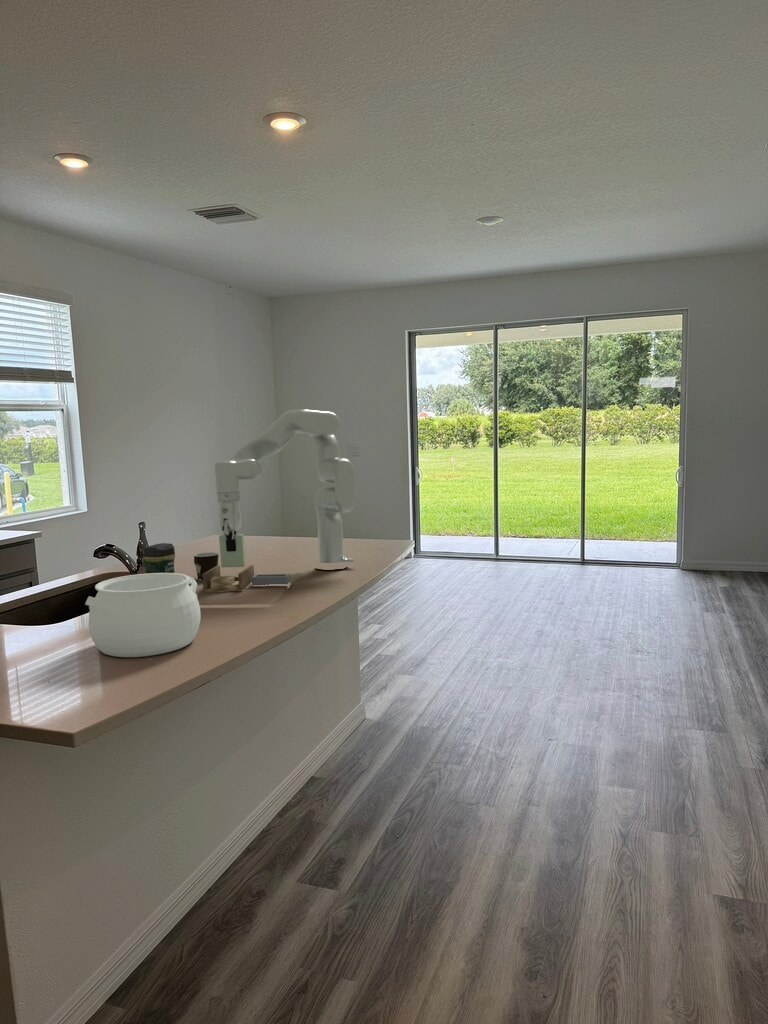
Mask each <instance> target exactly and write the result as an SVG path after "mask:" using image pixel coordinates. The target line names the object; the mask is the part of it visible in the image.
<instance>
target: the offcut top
mask: <svg viewBox="0 0 768 1024" xmlns="http://www.w3.org/2000/svg"><path fill="white" fill-rule="evenodd" d="M235 577H236V576H235V575H230V576H229V575H227V576H226V575H224V576H223V575H222V576H221V575H220V576H219V577H213V578H212V579H211V585H232V584H233V583H234V582H235Z"/></svg>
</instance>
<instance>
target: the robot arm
mask: <svg viewBox="0 0 768 1024" xmlns="http://www.w3.org/2000/svg"><path fill="white" fill-rule="evenodd" d="M340 425H341V421H340V418H339V417H338V415H337V414H335V413H334V412H331V411H324V410H323V411H322V410H313V409H290V410H286V411H285V412H283V413H282V414H281V415H280V416H279V417H278V418H277V419H276V420H275V421H274V422H272V424H271V425H270V426H269V427H268V428H267V429H266V431H265V432H263V433H262V434H261V435H260V436H258V437H257V436H256V437H255V439H253V440H252V441H250V442H248V443H247V444H245V445H244V446H242V447H241V448H240V449H239V450H237V452H235V454H234V455H232V457H231V458H229V460H219V461H217V462H215V464H214V472H215V473H214V476H215V485H216V487H215V488H216V500H217V503H219V522H220V523H219V525H220V530H221V531H222V532H223V535H225V539H226V550H227V552H230V551H236V542H235V540H234V534H238V530H239V529H241V528H242V527H243V519H242V511H241V505H240V501H241V497H240V496H241V495H240V494H241V493H240V481H254V480H257V479H258V478H259V477H260V476H261V475H262V472H263V466H262V465H261V463H260V462H259V461H261V460H263V459H265V458H267V457H270V456H273V455H276V454H277V453H279V452H281V451H282V449H284V448H285V447H286V446H287V445H288V443H289V442H290V441H291V440H292V439H293V438H294V437H295V436H296V435H298V434H307V435H308V436H309V437H310V438H311V439H312V441H313V442H314V444H315V449H316V450H315V451H316V474H317V478H318V480H319V481H320V482H323V483H326V484H334V486H323V487H320V488H319V489H317V490H316V492H315V494H314V497H313V502H314V507H315V511H316V517H317V518H316V519H317V540H318V541H317V542H318V543H317V544H318V563H319V562H320V563H338V562H355V563H356V560H355V559H356V558H353V557H352V558H351V557H348V558H347V557H346V555H345V554H344V535H343V533H344V531H343V528H344V527H343V526H344V525H343V520H342V515H341V513H342V514H343V513H344V514H345V513H349V512H352V510H354V508H355V506H356V501H357V488H356V487H357V485H356V484H357V479H356V476H357V475H356V470H355V467H354V464H353V463H352V462H351V461H350V460H349V459H348V458H345V457H344V458H343V457H340V450H339V442H338V440H337V437H336V436H335V434H337V432H338V431H339V429H340V427H341V426H340Z"/></svg>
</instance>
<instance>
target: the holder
mask: <svg viewBox="0 0 768 1024" xmlns="http://www.w3.org/2000/svg"><path fill="white" fill-rule="evenodd" d="M290 581H291V573H257V574H256V573H255V574H254V576H253V577H252V585H266V584H267V585H269V584H288V583H289V582H290ZM252 585H251V586H252Z"/></svg>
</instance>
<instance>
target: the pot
mask: <svg viewBox="0 0 768 1024" xmlns="http://www.w3.org/2000/svg"><path fill="white" fill-rule="evenodd" d="M197 587H198V583H197V581H196V580H195V579H194V577H192V576H189V575H187V574H182V573H148V574H146V573H139V574H130V575H129V574H128V575H124V576H119V577H118V576H117V577H113V578H109V579H106V580H102V581H100V582H98V583H97V584H95V586H94V589H95V590H96V591H97V593H96V595H95V597H93V596H89V595H88V597H87V599H86V601H85V604H84V605H86V606H88V609H89V611H88V630H89V635H90V637H91V640H92V642H93V643H94V645H95V646H96V648H97V649H98V650H99V651H100V652H102V653H103V655H107V656H111V657H118V658H142V657H143V658H145V657H153V656H157V655H158V656H159V655H163V654H167V653H171V652H173V651H174V652H175V651H177V650H180V649H182V648H184V647H187V646H188V645H189V644H191V643H192V641H194V639H195V637H196V636H197V634H198V631H199V627H200V624H201V619H202V618H201V606H200V603H199V599H198V594H197V592H196V589H197Z"/></svg>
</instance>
